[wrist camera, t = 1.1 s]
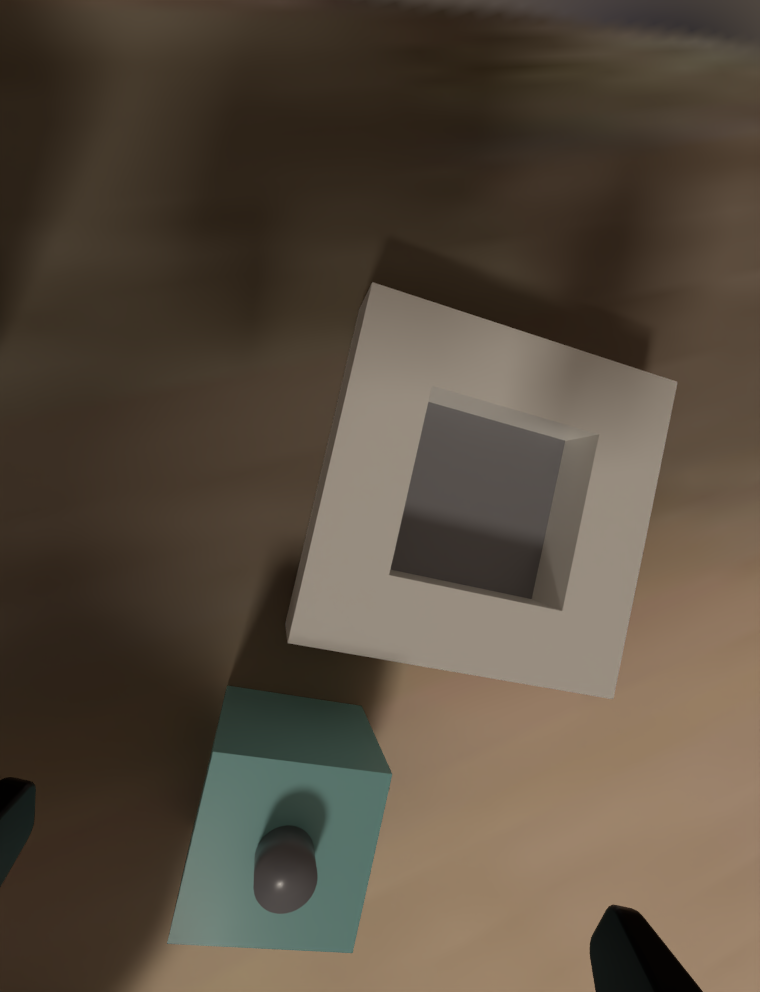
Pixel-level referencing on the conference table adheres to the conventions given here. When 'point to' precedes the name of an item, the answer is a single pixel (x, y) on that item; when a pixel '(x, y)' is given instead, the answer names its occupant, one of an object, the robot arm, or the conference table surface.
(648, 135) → the conference table surface
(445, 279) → the conference table surface
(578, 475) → the socket plate
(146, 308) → the conference table surface
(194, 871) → the plug
